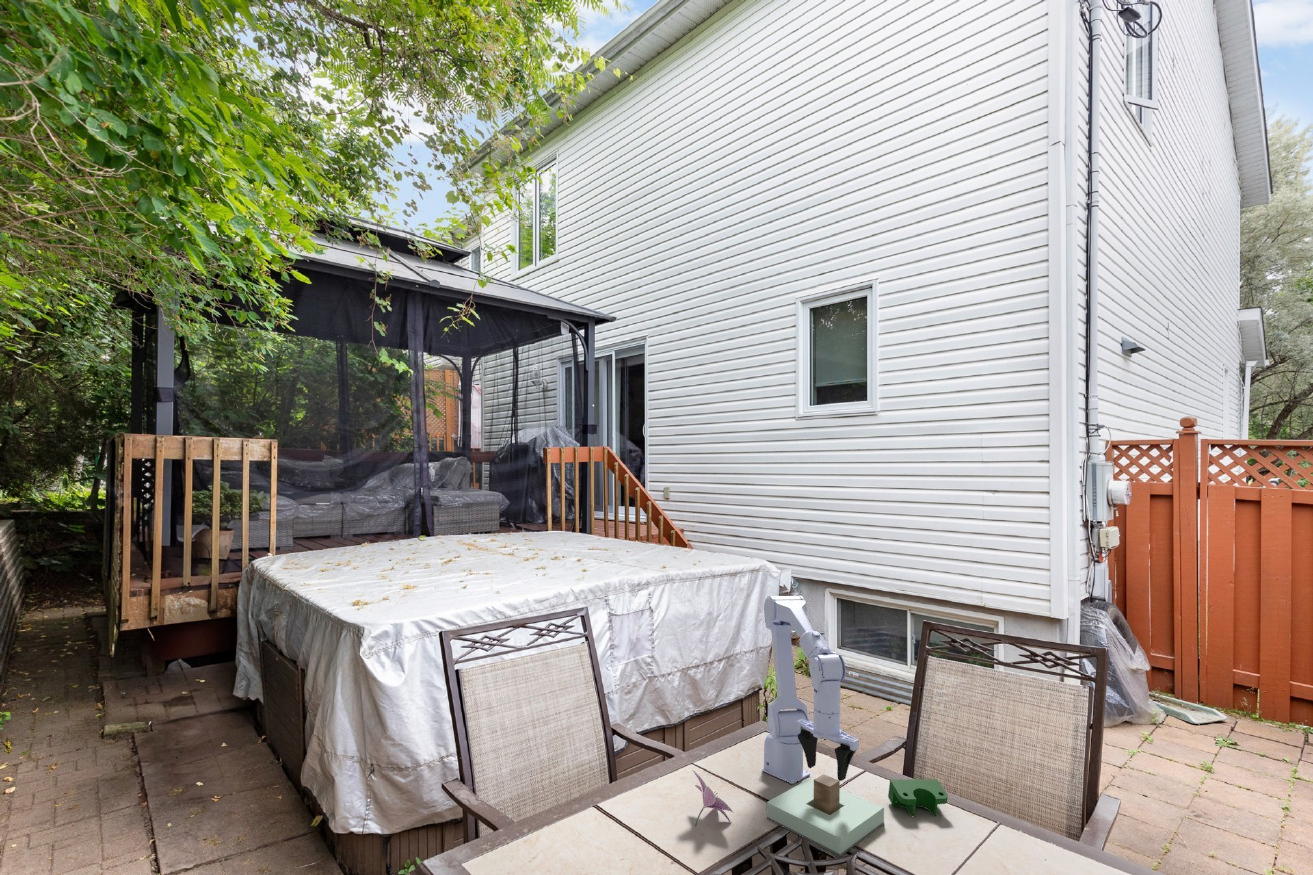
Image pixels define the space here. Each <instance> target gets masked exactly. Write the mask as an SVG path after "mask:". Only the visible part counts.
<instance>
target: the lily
mask: <svg viewBox="0 0 1313 875" xmlns="http://www.w3.org/2000/svg"><path fill="white" fill-rule="evenodd" d="M691 770H692V772H693V773H694V775H695V776H696V778H697V779H698V781H699V783H700V785H699V784H694V787H696V788H697V789H698V790H699V791H700V792H701V793H702V803H703V806H702V808H701V810H700V812H699V814H698V816H697V818H696V821H695V823H694V826H695V827H696V826H697V824H698V821H699V820H700V819H699V818H700V816H701V814H702V812H703V811H704V809H705V808H708V809H709V808H710V809H714V810H717V811H719V812H720V813H721V814H722V815H723V816H724V817H725V818H726V819H727V821H728V822H729V823H730V824H732V822H731V820H730V818H729V816H728V815H727V813H726V812H725V811H727V812H731V813H732V814H733V813H734V810H732V808H731V807H730V806H729V805H728V804H727V803H726V802H725V801H724V800H723V799H721V798H720V797H718V796H717V795H718V792H716V791H713V790H712V789H711V788H710V787H709V786H708V785H706V783H705V781H704V780H703V778H702V777H701V776H700V775H699V774H698V773H697V772H696V771H694V770H693V769H691Z"/></svg>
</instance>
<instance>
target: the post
mask: <svg viewBox="0 0 1313 875" xmlns="http://www.w3.org/2000/svg"><path fill="white" fill-rule="evenodd" d="M815 778H816V779H814V808H815V809H818V810H820V811H822V812H824V813H826V814H828V815H831V814H833V813H834V812H836V811H837V810H839V805H840V789H841V787H840V786H841V785H840V782H841V781H839V780H838V779H836V778H833V777H831V776H829V775H826V774H824V773H823V774H821V775H820V776H818V777H815Z"/></svg>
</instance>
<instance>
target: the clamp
mask: <svg viewBox="0 0 1313 875" xmlns="http://www.w3.org/2000/svg"><path fill="white" fill-rule="evenodd" d="M888 786H889V787H888V794H887V796H888V797H887V798H888V799H889V802H890V803H891V805H892V806H893V808H906V810H907V811H908V814H909V815H910V814H911V815H910V817H912V816H914V817H915V813H916V808H924V809H926V810H927V811H929V812H930V813H931V814H932V817H937V813H938V812H937V810H938V805H945V804H947V803H948V799H949V795H948V793H947V791H946V790H945V789H944V787H943V786H942V785H941V783H940V782H939V781H938V779H937V778H924V779H923V778H922V779H919V778H918V779H915V778H913V779H910V778H909V779H890V780H889V785H888Z"/></svg>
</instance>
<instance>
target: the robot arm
mask: <svg viewBox="0 0 1313 875" xmlns="http://www.w3.org/2000/svg"><path fill="white" fill-rule="evenodd" d="M807 607H808V606H807V601H806V600H805V598H804V596H802V595H800V594H798V595H784V596H783V595H767V597H766V598H765V601H764V604H763V613H764V614H763V616H764V623H765V628H766V629H768V630H770V632H771V640H772V642H771V643H772V652H773V662H774V673H775V682H776V694H777V696H776V698H774V699H773V700H772V701H771V702H770V703H769V705H767V719H766V720H767V721H766V722H767V723H766V724H767V730H768V734H767V736H766V737H765V739H764V744H763V767H762V768H761V771H762V772H764V773H766V774H768V775H771V776H773V777H775V778H777V779H779V780H781V781H784V782H786V781H787V782H786V783H788V782H789V784H790V785H795V784H797V783H798V782H800V781H802V780H803V779H805V778H807V777H809V776H810V775H811V772H810V771H807V770H805V769H804V756H805V760H806V764H807V767H808V768H809V769H811V768H813V767H816V763H817V745H818V740H819V739H820V740H822V739H825V740H828V741H830V742H832V743H836V744H838V745H839V746H837V747H836V748H834V753H835V754H834V755H835V757H836V764H837V767H836V768H837V780H839V781H840V782H842V781H844V780H846V778H847V773H848V769H849V766H850V763H851V761H852V759H853V758H854V755H855V753H856V751H857V750H859V748H860V746H859V745H860V744H859V743H860V742H859V741H860V740H859V739H858V738H856V737H853V736H852V735H850V734H848V733H847V732H845V731H843V730H841V681H842V682H843V681H844V680H845V679H846V678H845V677H846V673H847V672H846V671H847V670H846V663H845V660H844V658H843V657H842V654H841V653H838V652H836V651H835V650H834V651H833V650H831V648H830V646H829V644H828V642H827V641H826V640H825V638H824V637H823V635H822V634H821V633H820V632H819V631H817V630H814V628H813V625H811V623H810V620H809V617H808V616H807V613H808V608H807ZM793 630H794V631H795V632H796V634H797V636H798V637H799V638H800V639H799V642H798V643H799V648H801V651H802V652H803V654H804V656H805V658H806V659H807V660H808V662H809V664H808V667H809V668H808V669H809V675H810V680H811V682H810V683H811V687H812V688H813V721H811V718H810V717H811V716H810V714H809V710H808V705H807V704H806V703H805V702H803V701H802V700H801V699H800V698H798V696H797V695H798V694H797V685H796V678H795V677H796V676H795V665H794V654H793V646H792V645H793V644H792V636H791V633H792V632H793ZM808 775H809V776H808ZM797 781H798V782H797Z"/></svg>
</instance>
